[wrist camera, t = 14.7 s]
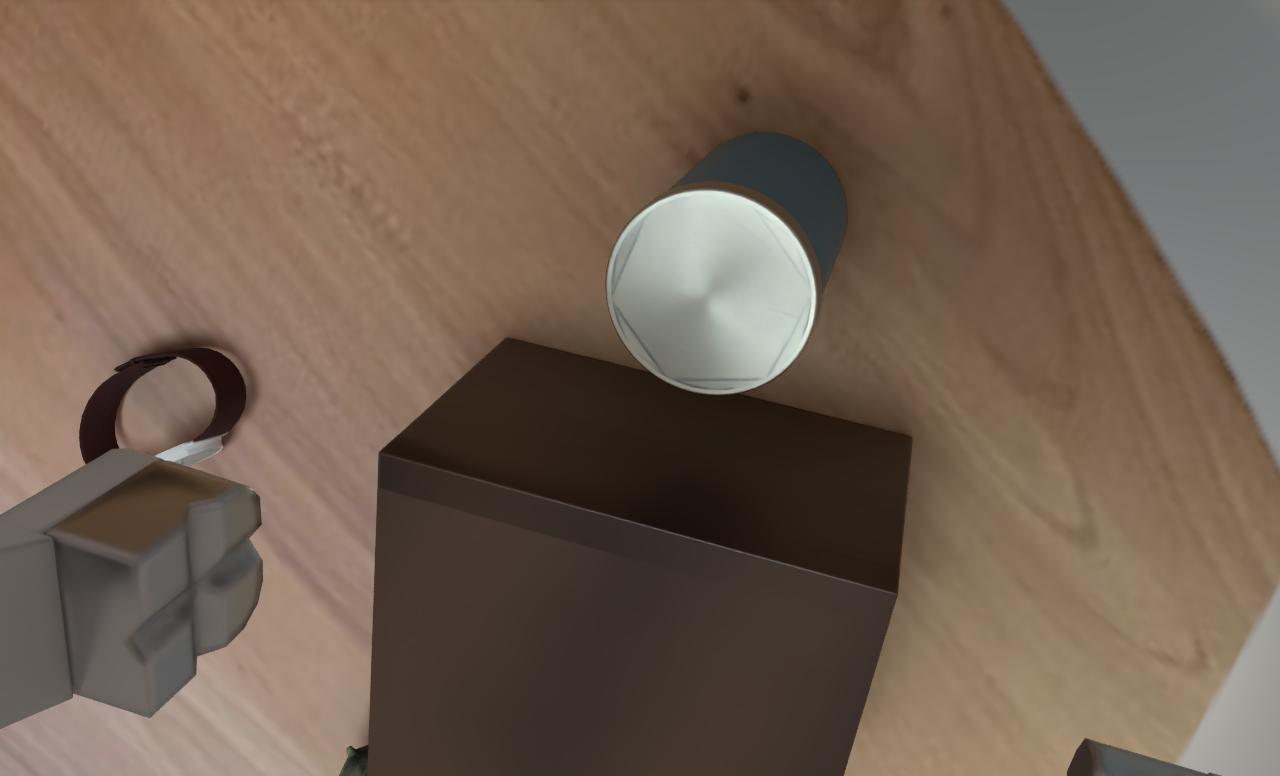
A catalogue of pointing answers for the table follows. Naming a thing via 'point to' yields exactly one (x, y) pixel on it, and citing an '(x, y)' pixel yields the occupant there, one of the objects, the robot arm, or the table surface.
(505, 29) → the table surface
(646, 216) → the enamel canister
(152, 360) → the watch
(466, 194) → the table surface
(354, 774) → the vegetable
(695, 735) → the brown box
